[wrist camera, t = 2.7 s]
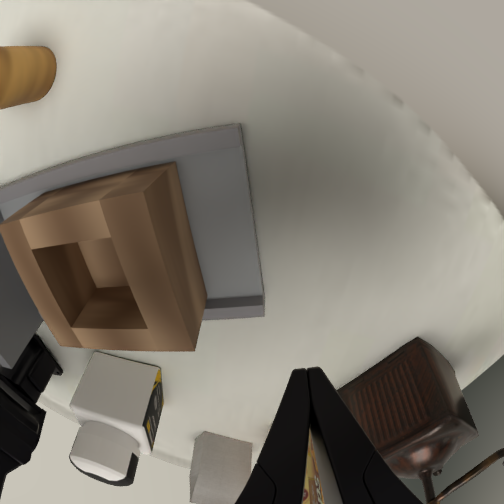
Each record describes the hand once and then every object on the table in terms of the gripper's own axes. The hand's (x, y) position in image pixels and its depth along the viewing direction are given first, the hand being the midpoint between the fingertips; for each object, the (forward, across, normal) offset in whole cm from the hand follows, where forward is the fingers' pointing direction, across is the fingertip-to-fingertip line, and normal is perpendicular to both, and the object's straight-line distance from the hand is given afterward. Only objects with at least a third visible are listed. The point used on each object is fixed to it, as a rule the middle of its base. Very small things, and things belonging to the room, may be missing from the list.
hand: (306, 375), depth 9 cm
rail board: (+12, +12, 0) cm, 17 cm away
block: (+10, +11, 0) cm, 15 cm away
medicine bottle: (+12, +17, +16) cm, 26 cm away
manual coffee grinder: (+12, -13, +18) cm, 25 cm away
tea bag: (+12, +10, +31) cm, 34 cm away
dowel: (+12, +15, -13) cm, 23 cm away
